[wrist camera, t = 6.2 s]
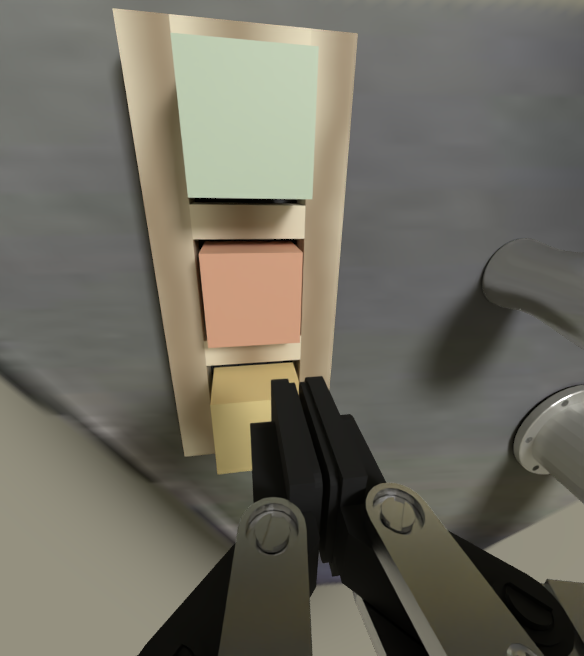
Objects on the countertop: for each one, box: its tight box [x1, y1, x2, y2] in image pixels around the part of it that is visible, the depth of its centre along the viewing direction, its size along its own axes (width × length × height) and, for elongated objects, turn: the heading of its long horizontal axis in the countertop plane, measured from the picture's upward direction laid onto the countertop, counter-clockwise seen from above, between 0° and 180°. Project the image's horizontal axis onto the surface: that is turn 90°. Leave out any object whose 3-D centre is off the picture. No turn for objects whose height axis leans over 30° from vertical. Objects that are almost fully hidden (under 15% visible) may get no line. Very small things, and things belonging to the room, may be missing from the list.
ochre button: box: [210, 362, 299, 474], centre depth 23 cm, size 6×6×4 cm
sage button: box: [170, 33, 319, 199], centre depth 16 cm, size 6×6×4 cm
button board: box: [113, 8, 358, 457], centre depth 23 cm, size 12×28×3 cm, turn 179°
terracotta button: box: [199, 241, 303, 348], centre depth 22 cm, size 6×6×4 cm
